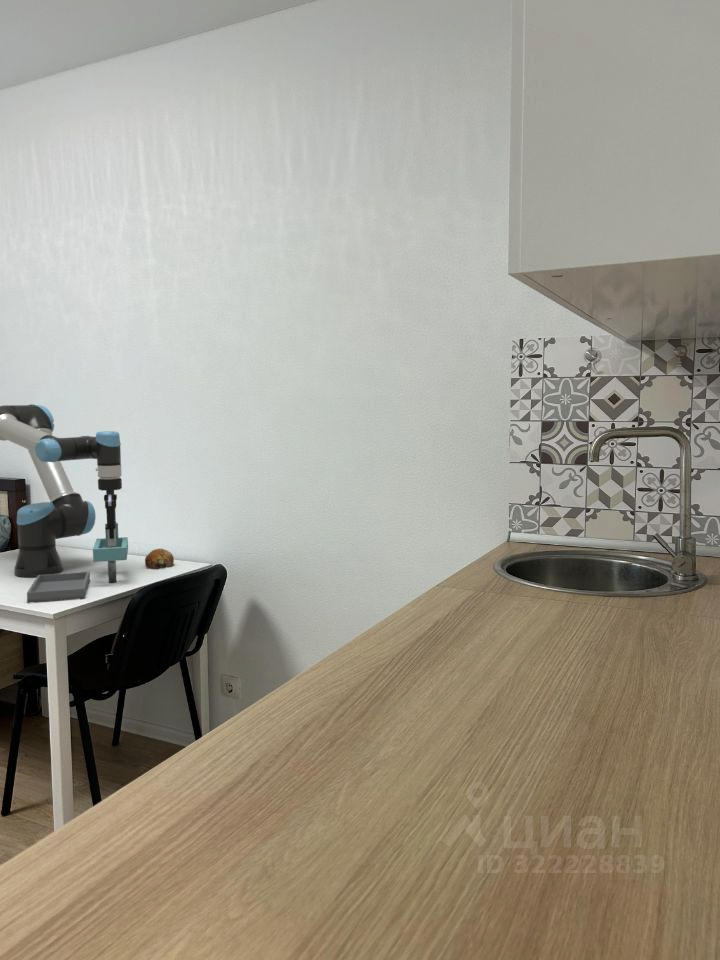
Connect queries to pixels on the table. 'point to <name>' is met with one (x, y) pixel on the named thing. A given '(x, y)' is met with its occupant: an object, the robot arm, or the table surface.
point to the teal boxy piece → (113, 552)
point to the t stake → (112, 569)
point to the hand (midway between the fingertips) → (112, 547)
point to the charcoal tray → (59, 587)
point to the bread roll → (159, 559)
